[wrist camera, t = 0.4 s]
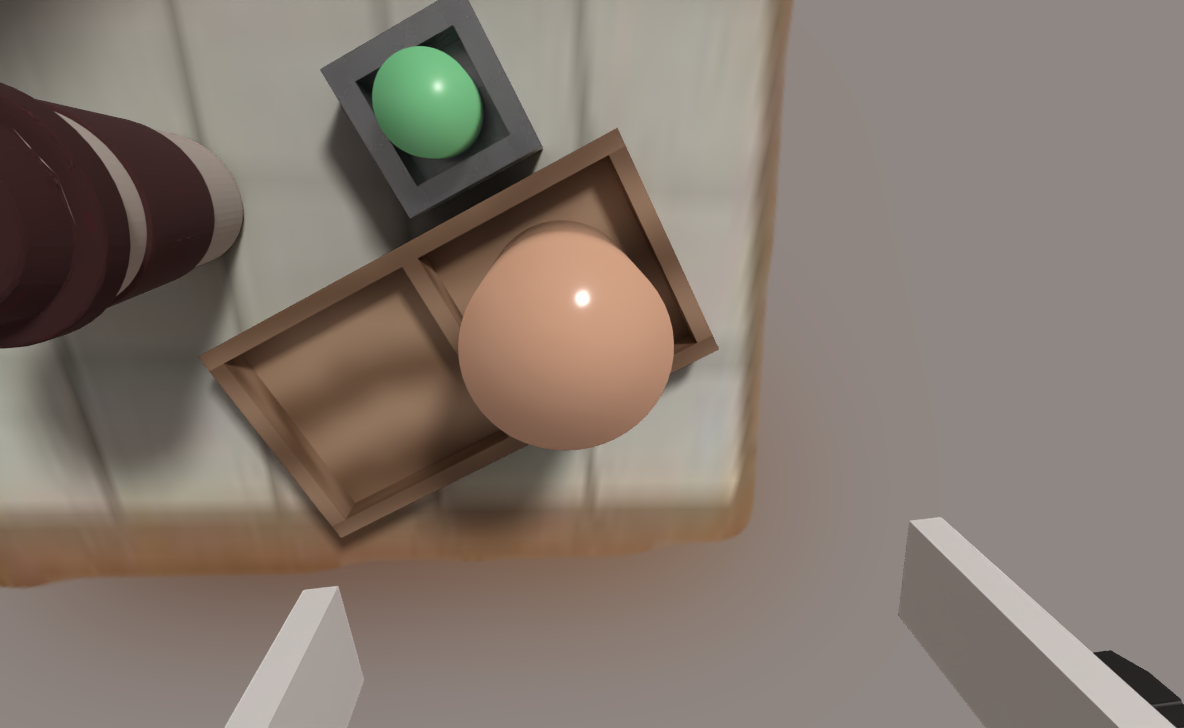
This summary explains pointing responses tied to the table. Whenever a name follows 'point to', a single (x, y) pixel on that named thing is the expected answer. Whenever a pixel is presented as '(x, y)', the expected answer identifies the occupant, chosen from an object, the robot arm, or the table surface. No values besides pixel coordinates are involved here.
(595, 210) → the divided tray
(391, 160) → the grey square frame
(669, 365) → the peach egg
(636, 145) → the table surface
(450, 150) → the button
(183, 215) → the coffee cup
